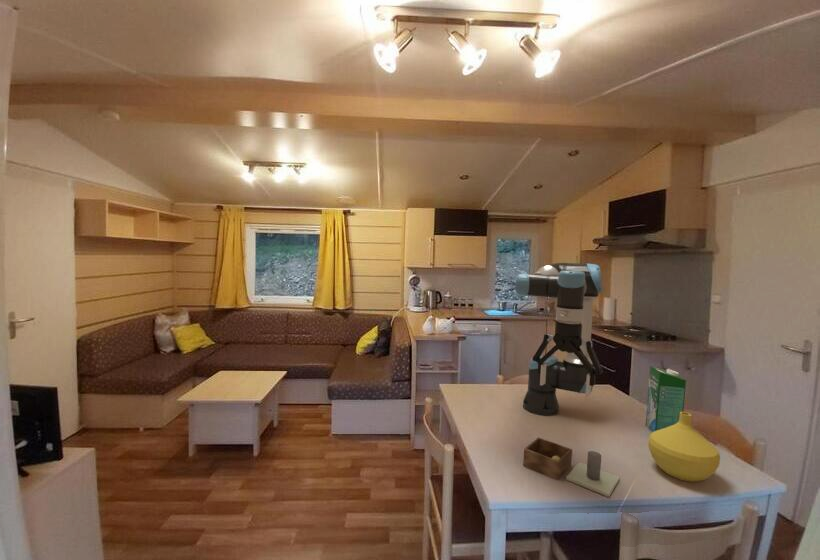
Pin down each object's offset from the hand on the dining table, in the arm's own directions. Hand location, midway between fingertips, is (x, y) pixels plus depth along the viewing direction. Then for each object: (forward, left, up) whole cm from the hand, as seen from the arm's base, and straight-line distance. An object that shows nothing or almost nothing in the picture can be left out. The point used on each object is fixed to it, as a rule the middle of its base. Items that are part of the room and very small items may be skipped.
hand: (564, 389), depth 117 cm
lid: (+10, +1, -26) cm, 28 cm away
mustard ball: (-1, +1, -25) cm, 25 cm away
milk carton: (+19, +58, -26) cm, 66 cm away
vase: (+28, +27, -26) cm, 47 cm away
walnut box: (-3, -1, -26) cm, 26 cm away
